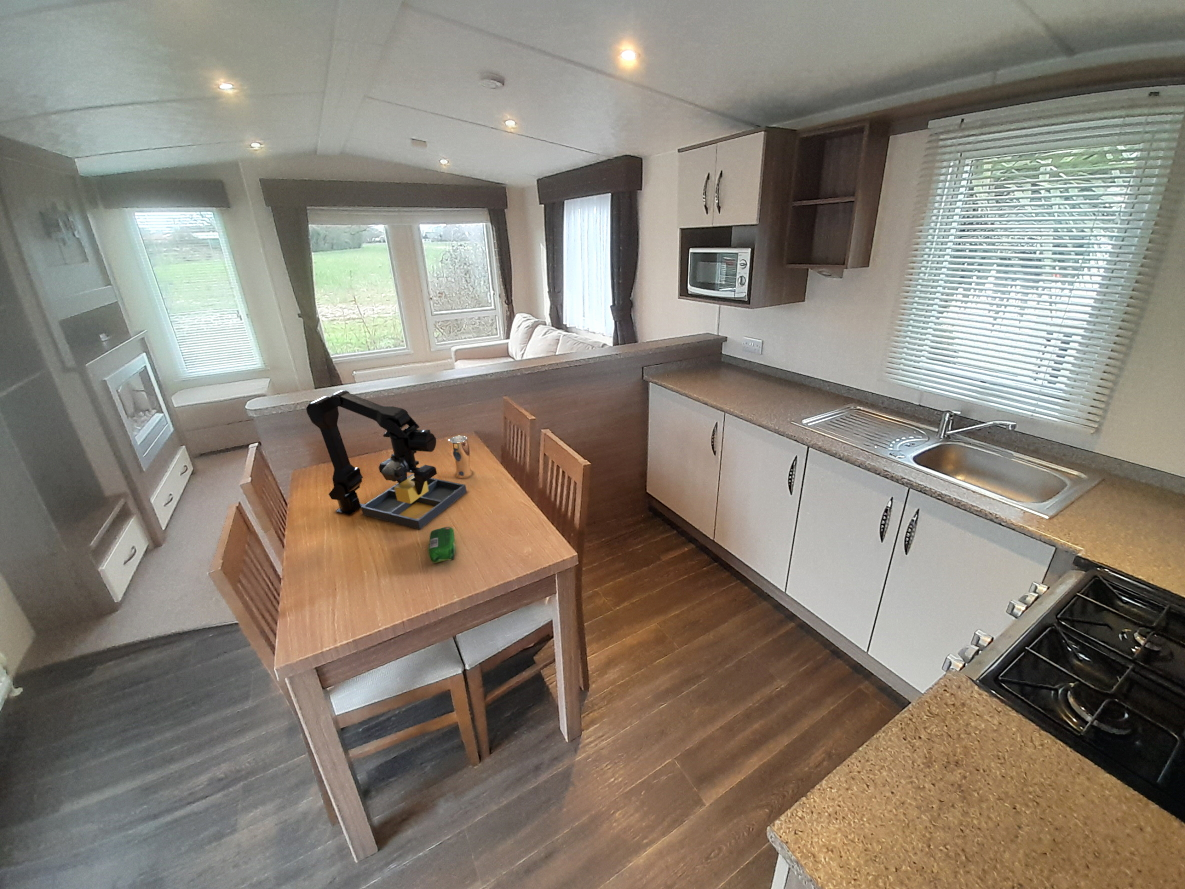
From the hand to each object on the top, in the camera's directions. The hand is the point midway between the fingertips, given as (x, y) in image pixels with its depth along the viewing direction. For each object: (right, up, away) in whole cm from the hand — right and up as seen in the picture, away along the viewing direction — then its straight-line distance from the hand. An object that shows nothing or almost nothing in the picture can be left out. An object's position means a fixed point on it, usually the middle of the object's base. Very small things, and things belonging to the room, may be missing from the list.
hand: (412, 492), depth 154 cm
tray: (-3, -5, +11) cm, 12 cm away
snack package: (+15, -16, -15) cm, 26 cm away
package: (0, -1, 0) cm, 1 cm away
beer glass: (+9, +4, +29) cm, 31 cm away
